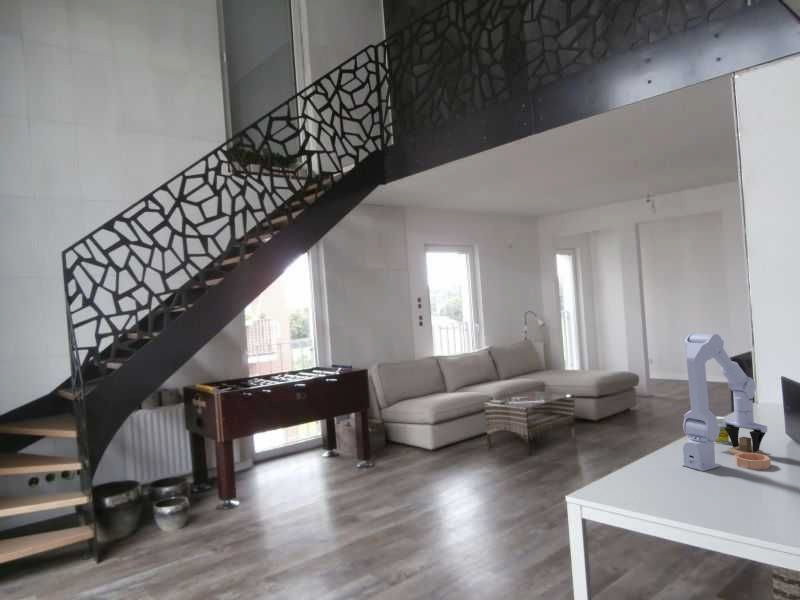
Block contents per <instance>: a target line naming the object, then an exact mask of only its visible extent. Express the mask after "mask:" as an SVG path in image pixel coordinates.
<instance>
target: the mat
mask: <svg viewBox="0 0 800 600" xmlns="http://www.w3.org/2000/svg"><path fill="white" fill-rule="evenodd" d="M720 453H721V454H727V455H729V456H733V455H732V454H730V453H729V452H728V450H725V451H721V452H720ZM764 455H766V456H770V455H771V453H769V452H764Z"/></svg>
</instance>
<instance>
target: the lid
mask: <svg viewBox="0 0 800 600" xmlns="http://www.w3.org/2000/svg"><path fill="white" fill-rule="evenodd" d="M738 442H739V444H738V447H733V446H732V447H730V448H728V449H727V451H728V452H729V453H730V454H732V455H731V456H734V454H738V453H757V454H762V455H764V453H765V452H764V450H761V449H759V451H757V452H754V451H753V446H752V438H751V437H747V436H742V437H738Z"/></svg>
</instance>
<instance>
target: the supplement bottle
mask: <svg viewBox="0 0 800 600" xmlns="http://www.w3.org/2000/svg"><path fill="white" fill-rule="evenodd" d="M716 417H717V423H718V425H719V428H720V433H719V436H718V438H717V439H716V440H714V444H721V445H725V444H726V445H727V444H729V442H730V440H729V439H730V437H729V435H728V433H727V432H726V430H725V427H726V426H727V425H723V420H724V419H726V417H724V416H716Z"/></svg>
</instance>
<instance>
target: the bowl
mask: <svg viewBox="0 0 800 600" xmlns="http://www.w3.org/2000/svg"><path fill="white" fill-rule="evenodd" d="M733 457H734V458H733V459H734V464H735V465H736V466H737V467H740V468H743V469H746V470H747V469H748V470H755V471H756V470H758V471H759V470H760V471H761V470H768V469H770V468H771V466H772V465H771V458H770V457H769V455H767V456H766V455H762V454H757V453H738V454H734V455H733Z"/></svg>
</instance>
